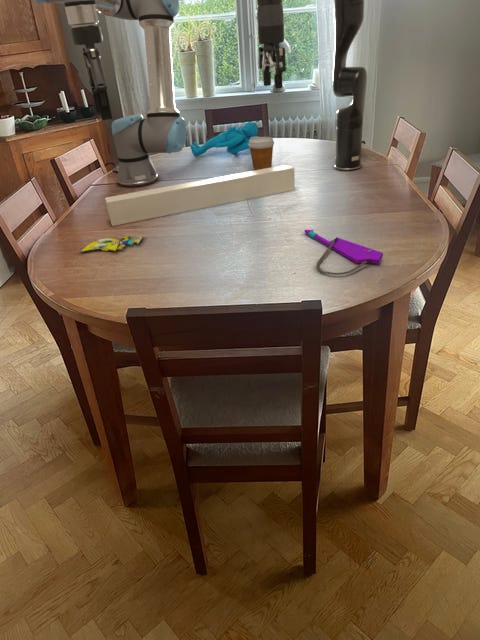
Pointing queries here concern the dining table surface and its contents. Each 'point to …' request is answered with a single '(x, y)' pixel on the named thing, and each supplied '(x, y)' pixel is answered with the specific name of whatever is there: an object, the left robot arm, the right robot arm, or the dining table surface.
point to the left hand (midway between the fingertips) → (104, 115)
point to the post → (199, 194)
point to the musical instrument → (347, 252)
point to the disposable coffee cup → (261, 152)
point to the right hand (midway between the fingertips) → (272, 86)
